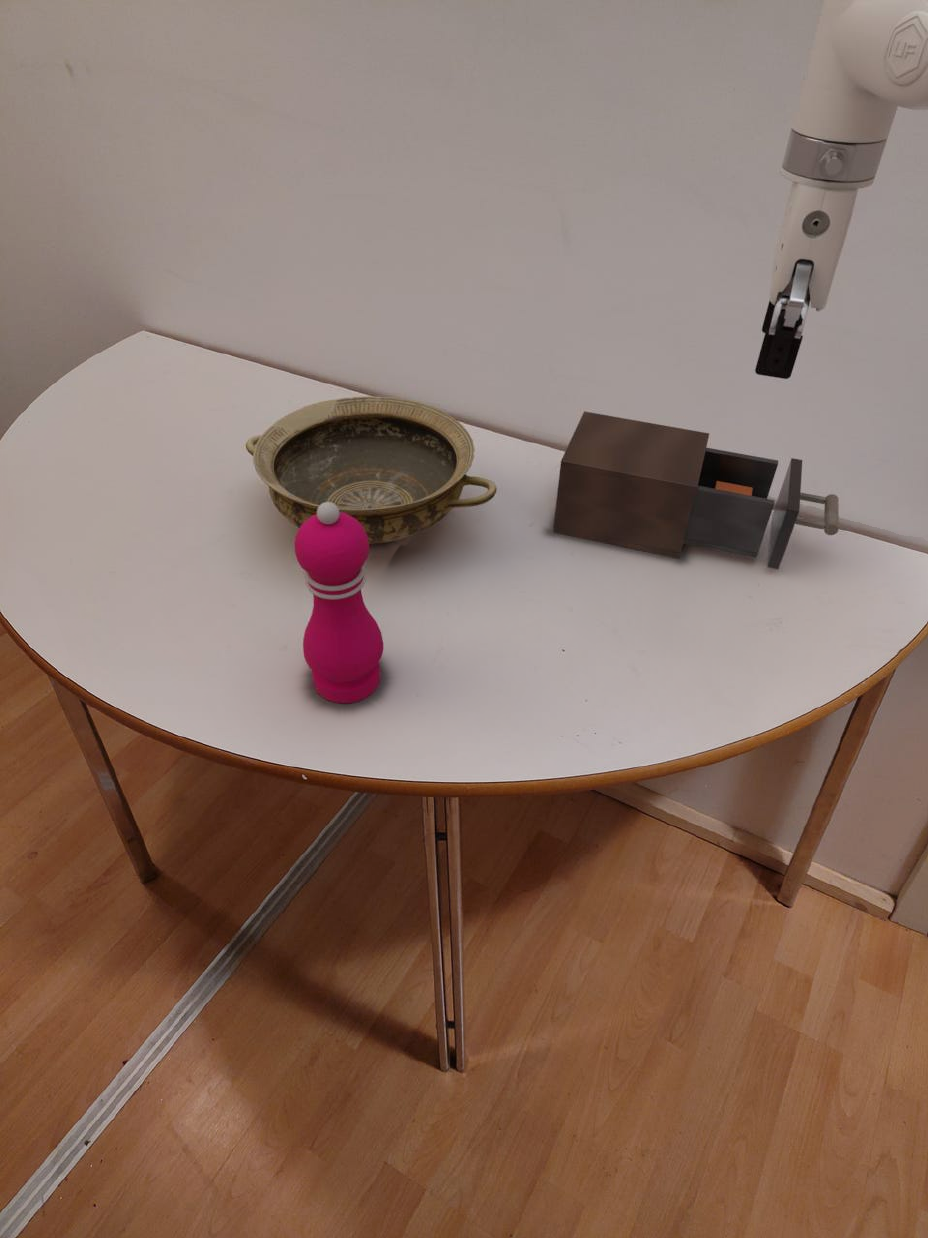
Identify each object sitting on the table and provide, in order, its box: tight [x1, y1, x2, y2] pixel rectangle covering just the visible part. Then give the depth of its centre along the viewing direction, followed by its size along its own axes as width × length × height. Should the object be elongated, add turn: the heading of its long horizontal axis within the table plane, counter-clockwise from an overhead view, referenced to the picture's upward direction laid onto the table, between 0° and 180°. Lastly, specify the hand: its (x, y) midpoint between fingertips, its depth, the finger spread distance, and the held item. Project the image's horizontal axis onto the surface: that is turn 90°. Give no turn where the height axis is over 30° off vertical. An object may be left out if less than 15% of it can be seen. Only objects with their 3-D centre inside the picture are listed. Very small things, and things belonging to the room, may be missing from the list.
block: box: [715, 481, 753, 496], centre depth 92 cm, size 4×4×4 cm
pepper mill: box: [294, 502, 384, 704], centre depth 71 cm, size 7×7×20 cm
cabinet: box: [552, 410, 710, 559], centre depth 94 cm, size 15×12×10 cm
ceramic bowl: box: [245, 395, 497, 545], centre depth 93 cm, size 30×24×10 cm
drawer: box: [683, 447, 840, 570], centre depth 91 cm, size 18×10×8 cm, turn 71°
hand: (774, 353), depth 80 cm, fingers open, 9 cm apart
